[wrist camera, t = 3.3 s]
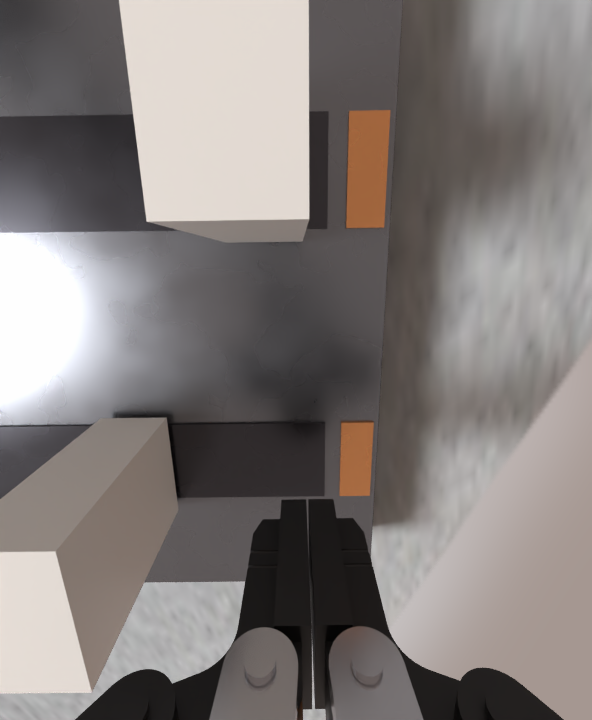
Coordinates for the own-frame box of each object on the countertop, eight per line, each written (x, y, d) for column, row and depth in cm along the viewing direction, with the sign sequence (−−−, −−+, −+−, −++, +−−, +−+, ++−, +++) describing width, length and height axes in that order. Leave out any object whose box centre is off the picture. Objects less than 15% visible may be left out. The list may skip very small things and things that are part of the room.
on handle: (226, 242, 11) (146, 221, 5) (216, 93, 10) (99, -151, 4) (302, 241, 11) (309, 219, 5) (301, 91, 10) (308, -156, 4)
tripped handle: (118, 510, 14) (-13, 693, 8) (101, 418, 13) (-67, 552, 7) (178, 509, 14) (91, 692, 8) (166, 417, 12) (55, 551, 7)
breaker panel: (12, 532, 18) (-44, 586, 15) (-142, 8, 12) (-289, -77, 9) (357, 528, 18) (369, 582, 15) (380, -1, 12) (409, -91, 9)
